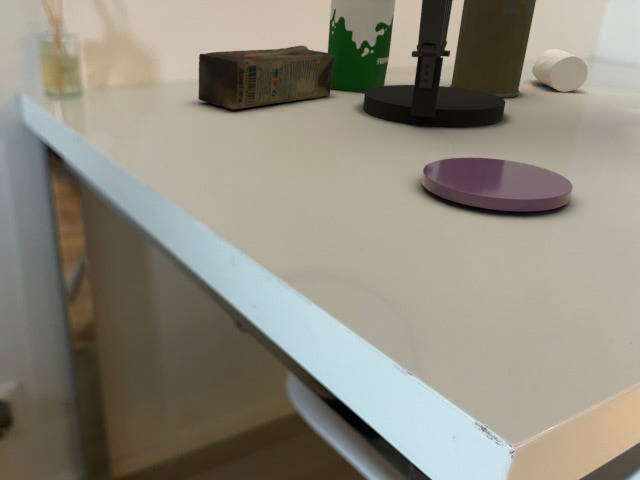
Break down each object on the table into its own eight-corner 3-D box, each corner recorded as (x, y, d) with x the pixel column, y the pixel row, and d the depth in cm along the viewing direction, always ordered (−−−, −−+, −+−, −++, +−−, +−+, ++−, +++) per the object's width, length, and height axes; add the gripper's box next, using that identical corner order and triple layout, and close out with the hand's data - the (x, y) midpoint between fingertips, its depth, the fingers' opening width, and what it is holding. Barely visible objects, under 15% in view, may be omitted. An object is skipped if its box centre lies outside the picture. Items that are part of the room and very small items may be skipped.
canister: (480, 99, 96) (507, -56, 87) (435, 87, 104) (455, -55, 96) (536, 96, 100) (567, -53, 91) (488, 84, 109) (512, -53, 100)
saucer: (564, 181, 60) (568, 166, 59) (573, 225, 50) (578, 207, 49) (429, 166, 63) (431, 151, 63) (411, 203, 53) (414, 187, 52)
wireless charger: (391, 128, 78) (393, 110, 77) (346, 99, 93) (347, 85, 92) (530, 125, 81) (533, 109, 80) (463, 98, 96) (465, 84, 95)
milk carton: (376, 94, 98) (392, -59, 89) (318, 88, 101) (328, -60, 92) (391, 86, 105) (407, -56, 96) (336, 81, 108) (347, -57, 99)
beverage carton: (334, 96, 95) (337, 48, 92) (234, 113, 83) (234, 58, 80) (294, 88, 100) (296, 42, 97) (194, 103, 88) (193, 51, 85)
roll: (556, 80, 115) (564, 46, 112) (583, 92, 104) (592, 55, 102) (521, 79, 115) (528, 45, 112) (545, 91, 104) (553, 53, 102)
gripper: (424, -111, 75) (399, 103, 85) (408, -125, 63) (381, 122, 74) (494, -111, 72) (459, 108, 83) (490, -126, 61) (450, 129, 72)
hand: (422, 115), depth 78 cm, fingers closed
